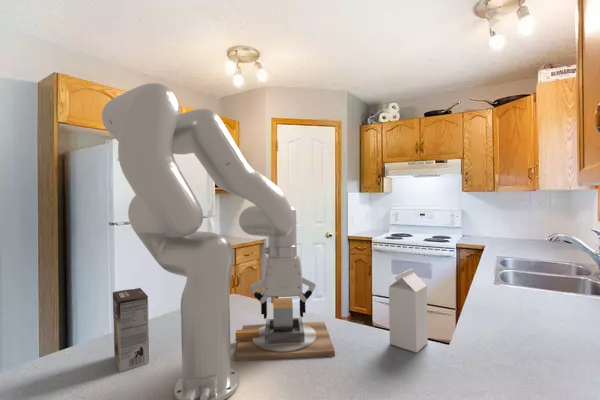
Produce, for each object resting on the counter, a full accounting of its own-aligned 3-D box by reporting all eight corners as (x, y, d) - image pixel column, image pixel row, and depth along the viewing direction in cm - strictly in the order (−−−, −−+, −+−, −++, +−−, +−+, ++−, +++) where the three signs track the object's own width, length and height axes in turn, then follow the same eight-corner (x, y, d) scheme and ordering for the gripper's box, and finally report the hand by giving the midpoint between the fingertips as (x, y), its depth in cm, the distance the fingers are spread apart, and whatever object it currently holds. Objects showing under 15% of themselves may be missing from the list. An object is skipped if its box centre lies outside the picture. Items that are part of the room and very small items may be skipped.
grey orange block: (293, 338, 81) (292, 303, 81) (273, 339, 81) (273, 304, 81) (292, 330, 86) (291, 297, 86) (274, 331, 86) (273, 298, 86)
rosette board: (334, 355, 75) (334, 338, 75) (231, 361, 74) (230, 343, 74) (324, 325, 93) (324, 311, 93) (240, 329, 92) (240, 315, 92)
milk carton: (427, 343, 81) (426, 270, 81) (416, 353, 76) (415, 275, 76) (401, 335, 86) (400, 266, 86) (389, 344, 80) (388, 271, 80)
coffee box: (113, 357, 77) (111, 291, 77) (142, 349, 81) (140, 286, 81) (118, 373, 70) (117, 300, 69) (150, 363, 73) (148, 295, 73)
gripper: (248, 255, 79) (249, 322, 79) (316, 253, 80) (317, 320, 80) (251, 250, 87) (252, 312, 86) (313, 249, 88) (314, 310, 88)
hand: (283, 316), depth 83 cm, fingers open, 9 cm apart
